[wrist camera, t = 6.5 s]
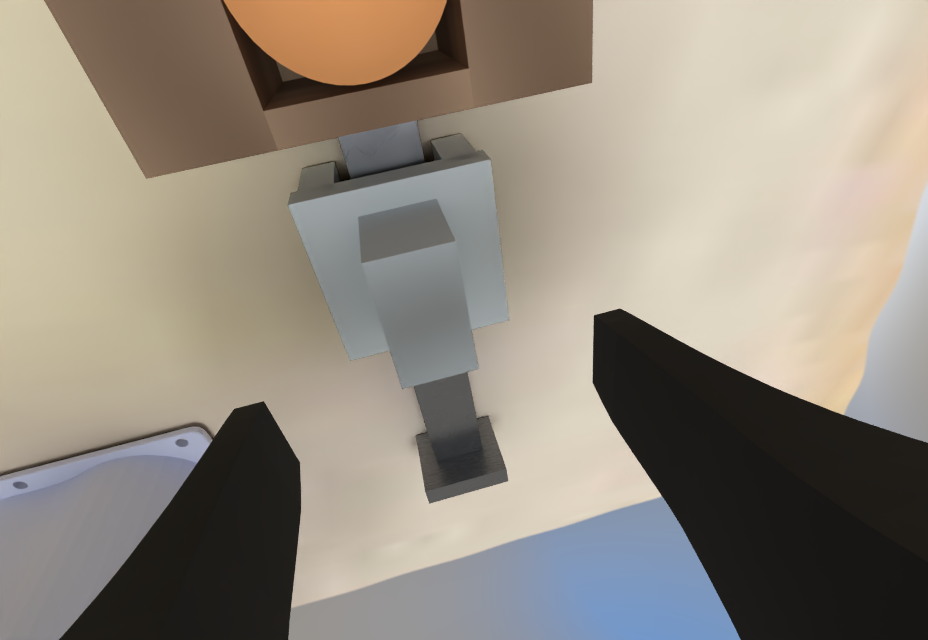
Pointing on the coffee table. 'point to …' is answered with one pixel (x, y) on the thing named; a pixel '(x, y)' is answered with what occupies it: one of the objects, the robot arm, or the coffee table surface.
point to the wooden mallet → (295, 96)
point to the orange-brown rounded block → (340, 35)
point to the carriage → (408, 258)
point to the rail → (448, 399)
